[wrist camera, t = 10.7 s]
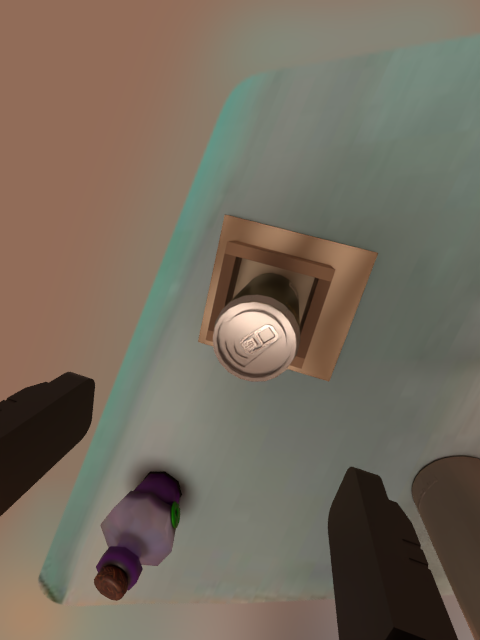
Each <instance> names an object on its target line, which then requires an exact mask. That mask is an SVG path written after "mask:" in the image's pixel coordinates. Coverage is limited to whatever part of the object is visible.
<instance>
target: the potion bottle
mask: <svg viewBox="0 0 480 640" xmlns="http://www.w3.org/2000/svg"><path fill="white" fill-rule="evenodd" d="M181 495H182V493H181V489H180V486H179V482H178V481H177V480H176V479H174V478H173V477H172V476H170V475H169V474H167V473H166V472H149V474H148V475H147V476H146V477H145V479H144V480H143V481H142V483H141V484H140V485H139V486H138V487H137V488H136V489H135V490H134V491H130V492H129V493H128V494H127V495H126V496H125V497H124V498H123V499H122V500H121V501H120V502H119V503H118V504H117V505H116V506H115V507H114V508H113V510H112V511H111V512H110V513H109V515H108V516H107V517H106V518H105V520H104V521H103V522H102V523H101V528H102V531H103V534H104V536H105V539H106V542H107V545H108V547H109V548H108V550H107V551H106V552H105V553H104V554H103V556H102V558H101V559H100V561H99V563H98V564H97V566H96V568H97V571H98V574H97V576H96V577H95V579H94V584H95V586H96V588H97V590H98V591H99V592H100V593H101V594H102V595H104V596H105V597H107V598H109V599H111V600H116V601H117V600H120V599H121V598H122V597H123V596H124V594H125V593H126V592H127V590H130V589H131V588H132V587H133V586H134V585H135V584H136V582H137V580H138V578H139V576H140V574H141V572H142V566H141V565H152V566H158V565H159V564H160V563H161V562H162V561H163V560H164V559H165V558H166V557H167V556H168V555H169V554H170V553H171V552H172V547H173V541H174V536H175V530H176V528H177V526H178V524H179V520H180V508H179V504H178V503H179V498H180V496H181Z"/></svg>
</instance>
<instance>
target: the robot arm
mask: <svg viewBox="0 0 480 640" xmlns="http://www.w3.org/2000/svg"><path fill="white" fill-rule="evenodd" d="M94 391H95V382H94V380H93V379H90V378H87V377H84V376H81V375H78V374H75V373H72V372H67V373H64V374H63V375H61V376H59V377H58V378H56V379H54V380H53V381H51V382H49V383H48V382H44V383H40V384H37V385H34V386H30V387H27V388H24V389H22V390H21V391H19V392H17V393H15V394H14V395H12V396H10V397H8V398H7V400H6V401H5V400H3V401H1V402H0V516H1V515H2V514H3V513H4V512H5V511H7V510H8V509H9V508H10V507H11V506H12V505H13V504H14V503H15V502H16V501H17V500H18V499H19V498H20V497H21V496H22V495H23V494H24V493H26V492H27V491H28V490H29V489H30V488H31V487H32V486H33V485H34V484H35V483H36V482H37V481H38V480H39V479H40V478H41V477H43V475H45V473H46V472H48V471H49V470H50V469H51V468H52V467H53V466H54V465H55V464H56V463H57V462H58V461H60V460H61V459H62V458H63V457H64V456H65V455H66V454H67V453H68V452H69V451H70V450H71V449H72V448H73V447H74V446H75V445H76V444H78V443H79V442H80V441H81V440H82V438H83V437H84V436H85V434H86V433H87V431H88V429H89V427H90V424H91V421H92V412H93V401H94ZM412 496H413V500H414V502H415V505H416V507H417V509H418V512H419V514H420V516H421V518H422V521H423V523H424V525H425V528H426V530H427V532H428V535H429V537H430V539H431V542H432V544H433V546H434V549H435V551H436V553H437V555H438V558H439V560H440V562H441V564H442V567H443V569H444V571H445V574H446V576H447V578H448V580H449V583H450V585H451V587H452V590H453V592H454V594H455V596H456V598H457V601H458V603H459V605H460V608H461V610H462V612H463V615H464V617H465V619H466V621H467V624H468V626H469V628H470V630H471V633H472V635H473V637H474V639H475V640H480V459H477V458H472V457H449V458H444V459H441V460H438V461H435V462H433V463H431V464H430V465H428V466H426V467H425V468H424V469H423V470H422V471H420V473H419V474H418V475H417V477H416V478H415V480H414V483H413V486H412ZM328 535H329V545H330V555H331V565H332V574H333V584H334V594H335V603H336V613H337V623H338V633H339V640H458V638H457V636H456V633H455V631H454V628H453V626H452V623H451V620H450V618H449V615H448V613H447V611H446V608H445V605H444V603H443V600H442V598H441V595H440V593H439V590H438V588H437V585H436V583H435V580H434V578H433V575H432V573H431V570H430V569H428V562H427V560H426V557H425V555H424V552H423V550H421V549H420V546H421V545H420V542H419V540H418V537H417V535H416V532H415V530H414V527H413V525H412V523H411V521H410V520H409V519H408V517H407V516H406V514H405V513H404V512H403V510H402V509H401V508H400V506H399V505H398V503H397V502H394V501H391V500H389V499H388V497H387V494H386V491H385V488H384V485H383V482H382V479H381V478H380V476H378V475H376V474H373V473H370V472H367V471H364V470H361V469H358V468H355V467H350V468H349V469H348V470H347V472H346V474H345V476H344V478H343V481H342V483H341V485H340V487H339V489H338V492H337V494H336V496H335V498H334V500H333V503H332V505H331V508H330V512H329V518H328Z"/></svg>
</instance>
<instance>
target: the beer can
mask: <svg viewBox="0 0 480 640" xmlns="http://www.w3.org/2000/svg"><path fill="white" fill-rule="evenodd" d="M299 345H300V316H299V297H298V293H297V290H296V288H295V286H294V285H293V284H292V283H291V282H290V280H289V279H287V278H285V277H283V276H282V275H279V274H274V273H267V274H261V275H259V276H257V277H255V278H253V279H252V280H251V281H250V282H249V283H248V284H247V285H246V286H245V287H244V288H243V289H242V290H241V291H240V292H239V293H238V294H237V295H236V296H235V297H234V298H233V299H232V300H231V301H230V302H229V303H228V304H227V305H226V306H225V307H224V308H223V309H222V310H221V312H220V314H219V316H218V317H217V319H216V321H215V327H214V333H213V346H214V352H215V354H216V356H217V358H218V360H219V362H220V363H221V364H222V365H223V366H224V368H225V369H226V370H227V371H228V372H230V373H231V374H233V375H235V376H237V377H238V378H240V379H244V380H248V381H266V380H269V379H272V378H275V377H277V376H278V375H280V374H281V373H282V372H284V371H285V370H286V369H287V368H288V366H289V365H290V364H291V362H292V361H293V359H294V358H295V356H296V355H297V352H298V349H299Z"/></svg>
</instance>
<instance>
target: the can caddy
mask: <svg viewBox="0 0 480 640" xmlns="http://www.w3.org/2000/svg"><path fill="white" fill-rule="evenodd" d="M377 255H378V253H375V252H372V251H368V250H364V249H360V248H356V247H352V246H348V245H344V244H340V243H336V242H332V241H328V240H324V239H320V238H316V237H312V236H308V235H304V234H300V233H296V232H292V231H288V230H284V229H280V228H276V227H273V226H269V225H265V224H261V223H257V222H253V221H249V220H245V219H241V218H237V217H233V216H229V215H225V216H224V221H223V226H222V231H221V235H220V240H219V245H218V250H217V254H216V259H215V264H214V269H213V273H212V278H211V283H210V288H209V292H208V297H207V302H206V307H205V311H204V316H203V321H202V326H201V330H200V335H199V340H198V342H200V343H204V344H207V345H210V346H213V333H214V327H215V321H216V319H217V317H218V316H219V314H220V312H221V310H222V309H223V308H224V307H225V306H226V305H227V304H228V303H229V302H230V301H231V300H232V299H233V298H234V297H235V296H236V295H237V294H238V293H239V292H240V291H241V290H242V289H243V288H244V287H245V286H246V285H247V284H248V283H249V282H250V281H251V280H252V279H253V278H255V277H257V276H259V275H261V274H267V273H274V274H279V275H282V276H283V277H285V278H287V279H289V280H290V282H291V283H292V284H293V285H294V286H295V288H296V290H297V293H298V297H299V316H300V345H299V349H298V352H297V355H296V356H295V358H294V359H293V361H292V362H291V364H290V365H289V366H288V368H287V369H290V370H293V371H296V372H300V373H303V374H306V375H310V376H313V377H316V378H320V379H323V380H326V381H329V380H330V378H331V375H332V372H333V370H334V367H335V365H336V362H337V359H338V357H339V354H340V352H341V349H342V346H343V344H344V341H345V338H346V336H347V333H348V331H349V328H350V325H351V323H352V320H353V318H354V315H355V312H356V310H357V307H358V304H359V302H360V299H361V297H362V294H363V291H364V289H365V286H366V284H367V281H368V278H369V276H370V273H371V270H372V268H373V265H374V263H375V260H376V257H377Z"/></svg>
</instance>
